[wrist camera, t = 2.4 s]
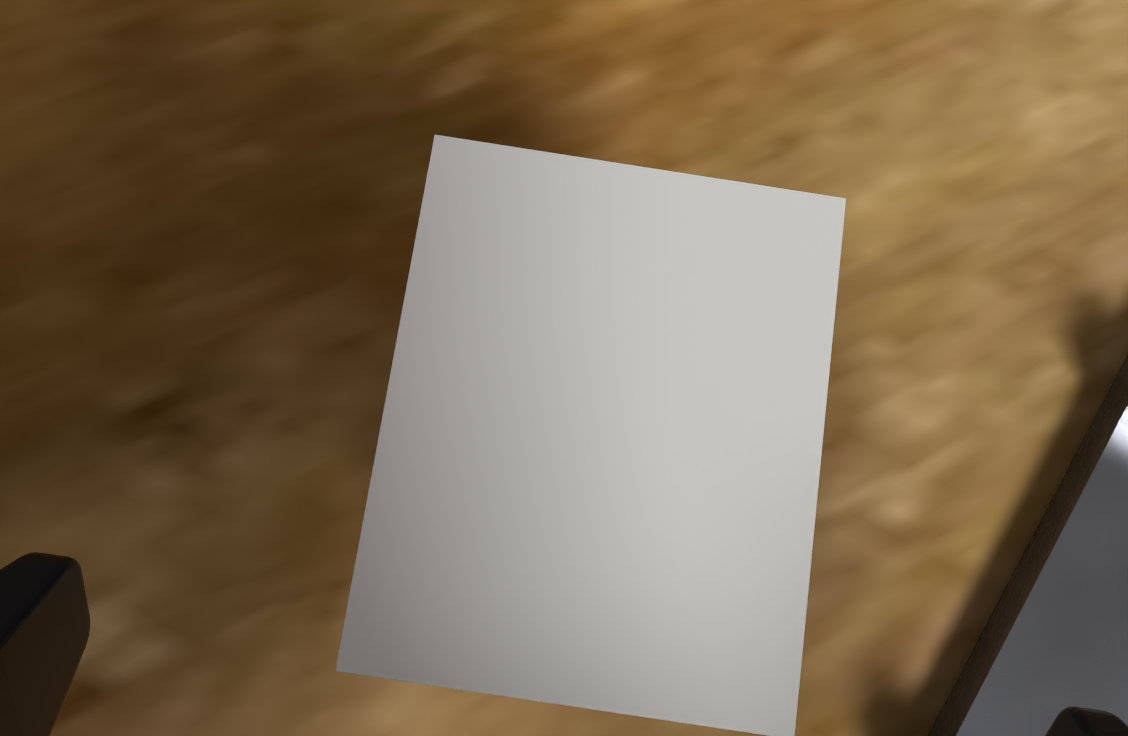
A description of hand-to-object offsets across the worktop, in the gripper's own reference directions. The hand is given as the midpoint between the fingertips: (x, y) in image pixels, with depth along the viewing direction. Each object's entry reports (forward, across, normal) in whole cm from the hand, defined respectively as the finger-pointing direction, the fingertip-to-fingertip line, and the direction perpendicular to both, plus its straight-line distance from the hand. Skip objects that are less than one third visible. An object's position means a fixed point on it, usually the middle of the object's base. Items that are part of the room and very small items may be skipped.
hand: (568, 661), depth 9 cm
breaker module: (+8, 0, +5) cm, 10 cm away
